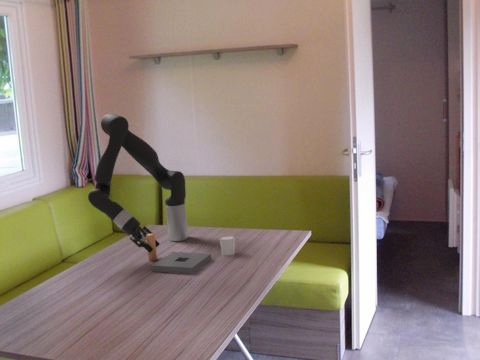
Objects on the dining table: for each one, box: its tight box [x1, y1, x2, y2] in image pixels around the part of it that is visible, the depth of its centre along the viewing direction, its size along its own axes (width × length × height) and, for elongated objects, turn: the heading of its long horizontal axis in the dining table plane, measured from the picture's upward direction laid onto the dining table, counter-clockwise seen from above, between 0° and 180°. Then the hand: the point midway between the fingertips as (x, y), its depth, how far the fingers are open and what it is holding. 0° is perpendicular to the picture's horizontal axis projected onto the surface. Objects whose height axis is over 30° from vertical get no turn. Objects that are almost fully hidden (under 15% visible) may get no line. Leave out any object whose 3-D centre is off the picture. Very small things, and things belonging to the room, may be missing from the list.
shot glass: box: [219, 235, 236, 257], centre depth 242 cm, size 7×7×7 cm
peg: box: [145, 233, 158, 262], centre depth 241 cm, size 4×4×11 cm
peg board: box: [151, 251, 212, 275], centre depth 231 cm, size 18×18×2 cm
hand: (154, 248), depth 241 cm, fingers open, 7 cm apart
